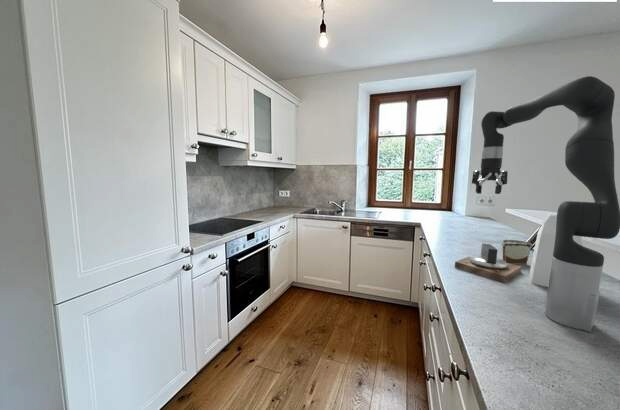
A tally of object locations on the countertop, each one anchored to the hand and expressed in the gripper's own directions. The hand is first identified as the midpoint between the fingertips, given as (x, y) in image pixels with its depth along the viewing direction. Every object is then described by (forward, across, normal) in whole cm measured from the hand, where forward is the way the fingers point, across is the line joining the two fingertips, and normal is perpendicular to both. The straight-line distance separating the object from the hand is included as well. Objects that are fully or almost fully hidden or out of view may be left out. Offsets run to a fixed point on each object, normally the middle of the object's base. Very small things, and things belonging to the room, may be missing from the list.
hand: (488, 193), depth 111 cm
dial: (+29, +5, +11) cm, 32 cm away
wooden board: (+32, +5, +11) cm, 34 cm away
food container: (+32, -14, 0) cm, 35 cm away
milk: (+32, -11, +23) cm, 41 cm away
